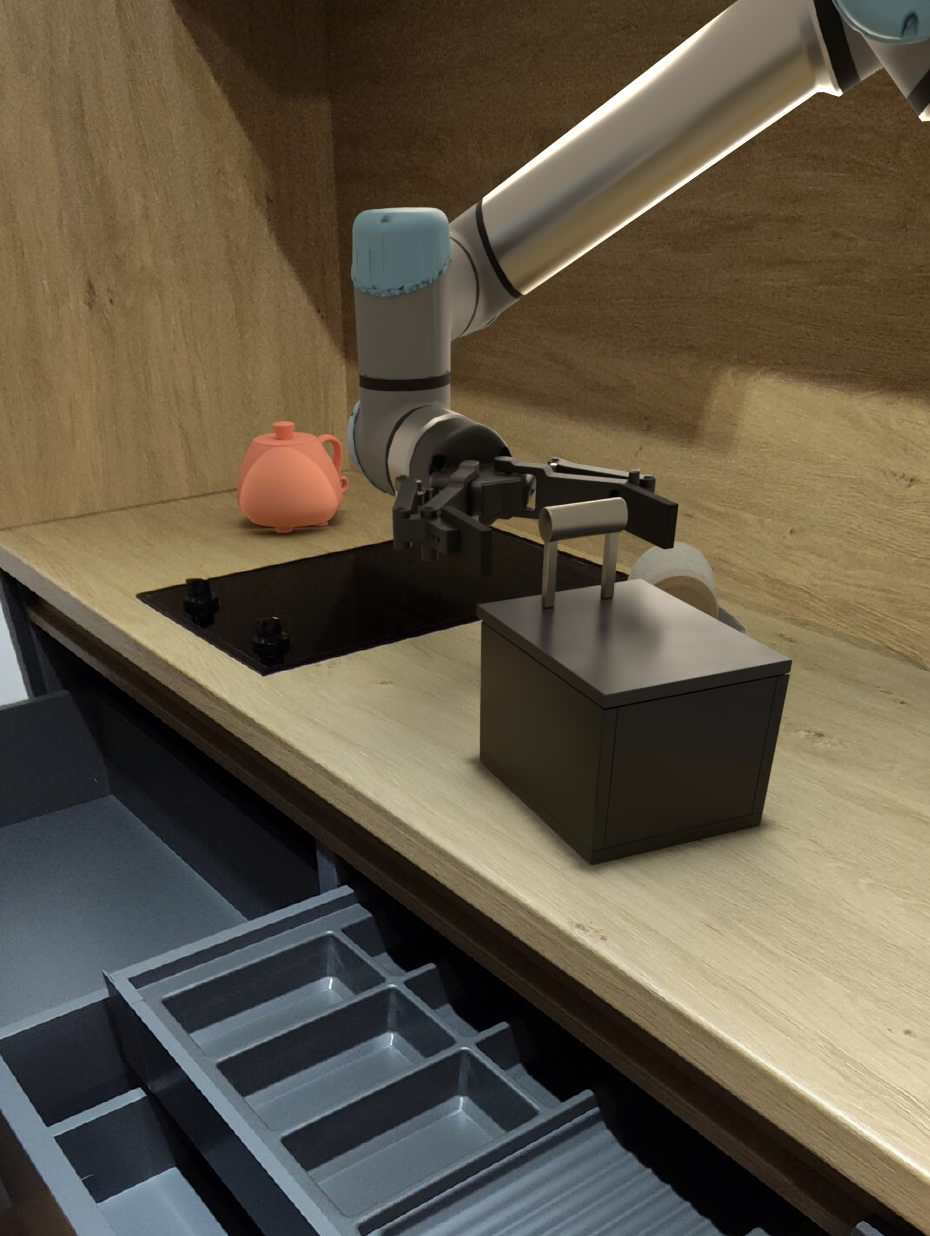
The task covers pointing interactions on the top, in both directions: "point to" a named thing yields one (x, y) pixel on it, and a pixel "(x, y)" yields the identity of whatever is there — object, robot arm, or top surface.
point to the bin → (626, 755)
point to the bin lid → (622, 625)
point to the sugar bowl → (291, 479)
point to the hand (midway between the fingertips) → (581, 540)
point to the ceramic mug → (684, 579)
